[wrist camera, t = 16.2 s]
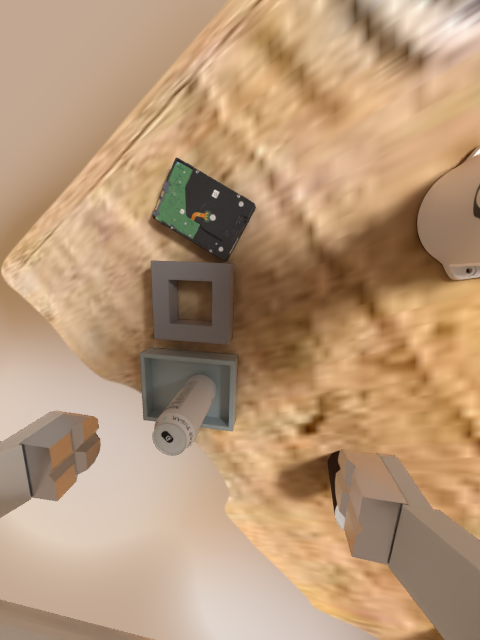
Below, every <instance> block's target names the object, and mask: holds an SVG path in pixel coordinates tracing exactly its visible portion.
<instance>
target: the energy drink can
mask: <svg viewBox="0 0 480 640" xmlns="http://www.w3.org/2000/svg"><path fill="white" fill-rule="evenodd" d="M215 395H216V385H215V383H214V382H213V380H212V379H211V378H209V377H208V376H206V375H202V374H198V375H194V376H192V377H191V378H190V379H189V380H188V381H187V382H186V383H185V385H184V386H183V387H182V389H181V390H180V391H179V392H178V394H177V395H176V396H175V397H174V399H173V400H172V401H171V402H170V404H169V405H168V406H167V407H166V409H165V410H164V411H163V413H162V414H161V415H160V416H159V418H158V419H157V421H156V423H155V429H154V432H153V442H154V444H155V446H156V448H157V449H158V450H159V451H161V452H162V453H164V454H166V455H172V456H173V455H178V454H180V453H182V452H183V451H184V450H185V449H186V448H188V447H189V446H191V444H192V443H193V442H194V440H195V437H196V435H197V433H198V431H199V429H200V427H201V425H202V423H203V420H204V418H205V416H206V414H207V412H208V410H209V408H210V406H211V404H212V401H213V399H214V397H215Z"/></svg>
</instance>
